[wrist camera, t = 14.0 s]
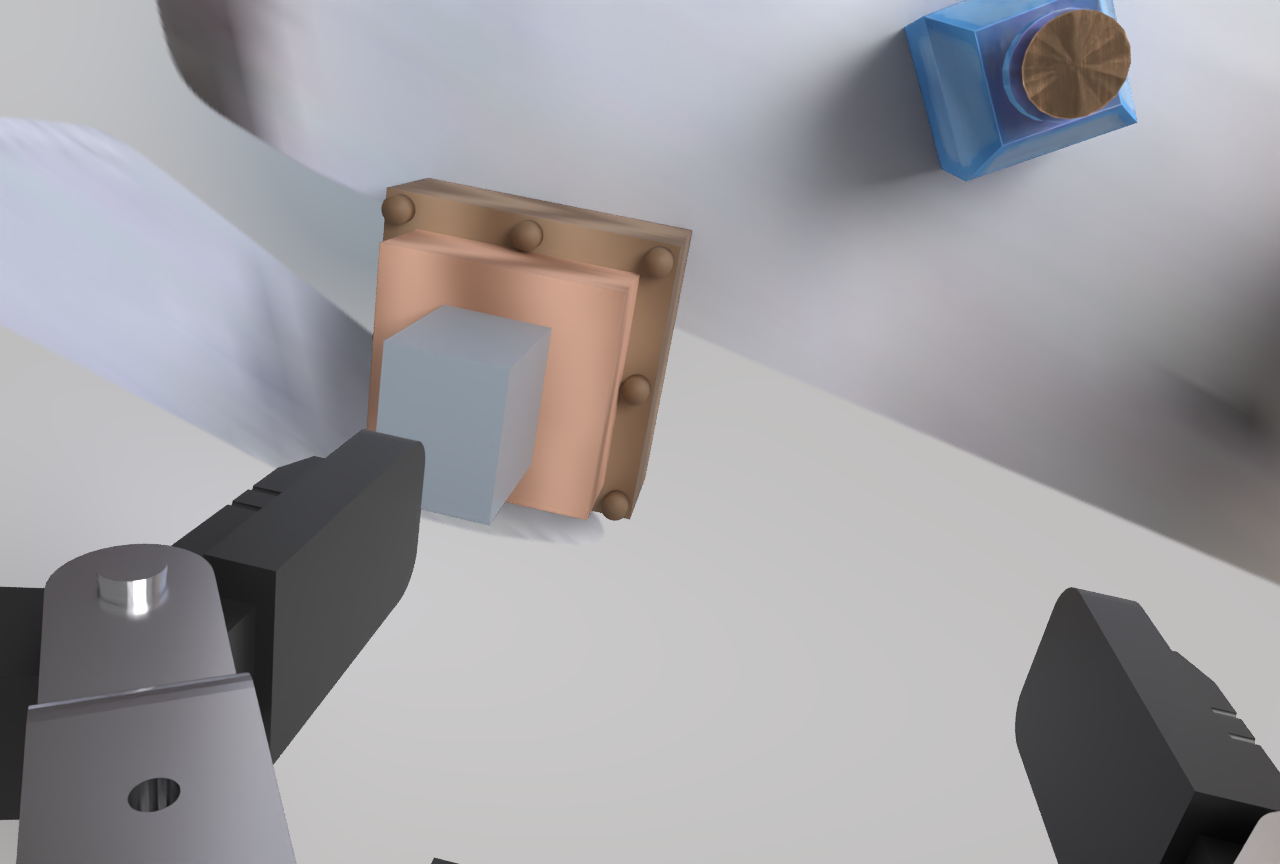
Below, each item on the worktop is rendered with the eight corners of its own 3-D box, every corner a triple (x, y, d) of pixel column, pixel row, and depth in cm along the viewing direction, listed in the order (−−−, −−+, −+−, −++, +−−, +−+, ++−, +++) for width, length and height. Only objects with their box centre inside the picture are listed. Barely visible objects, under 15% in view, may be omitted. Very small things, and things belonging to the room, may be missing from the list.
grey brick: (552, 327, 37) (510, 369, 32) (531, 464, 39) (489, 525, 34) (443, 304, 38) (383, 341, 32) (429, 440, 40) (370, 497, 34)
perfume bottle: (904, 27, 40) (948, 2, 29) (1054, -32, 38) (1163, -83, 27) (941, 168, 42) (997, 196, 30) (1087, 118, 40) (1202, 128, 29)
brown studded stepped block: (692, 230, 44) (669, 262, 36) (644, 478, 49) (615, 558, 40) (428, 178, 45) (346, 197, 37) (407, 425, 50) (329, 493, 41)
